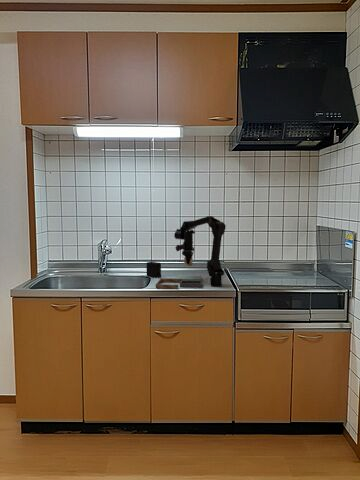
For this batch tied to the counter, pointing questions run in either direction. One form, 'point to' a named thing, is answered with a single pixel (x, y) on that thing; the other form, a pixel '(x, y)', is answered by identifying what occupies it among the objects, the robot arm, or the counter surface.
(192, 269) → the counter surface
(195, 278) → the platform
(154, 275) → the electronic device
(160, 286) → the cubby
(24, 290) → the counter surface
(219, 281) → the robot arm
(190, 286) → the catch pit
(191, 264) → the beech cube
